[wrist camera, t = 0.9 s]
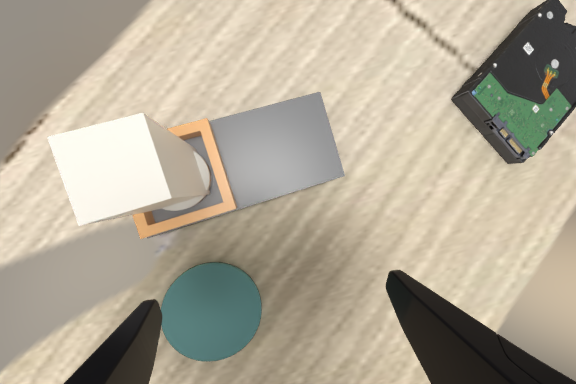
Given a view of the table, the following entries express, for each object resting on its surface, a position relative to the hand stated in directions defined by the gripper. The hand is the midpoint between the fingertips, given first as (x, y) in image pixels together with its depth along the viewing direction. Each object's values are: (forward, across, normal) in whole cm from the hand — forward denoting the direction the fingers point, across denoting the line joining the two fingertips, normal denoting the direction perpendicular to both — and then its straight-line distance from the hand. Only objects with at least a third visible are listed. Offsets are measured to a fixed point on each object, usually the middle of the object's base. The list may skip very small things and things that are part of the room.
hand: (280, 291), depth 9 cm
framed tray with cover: (+16, +2, +1) cm, 16 cm away
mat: (+10, +5, +13) cm, 17 cm away
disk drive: (+20, -30, -5) cm, 36 cm away
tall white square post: (+13, +7, +1) cm, 15 cm away
